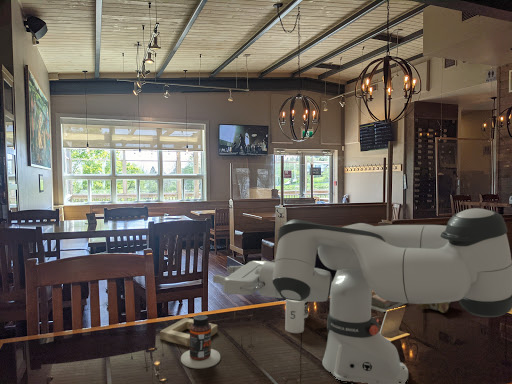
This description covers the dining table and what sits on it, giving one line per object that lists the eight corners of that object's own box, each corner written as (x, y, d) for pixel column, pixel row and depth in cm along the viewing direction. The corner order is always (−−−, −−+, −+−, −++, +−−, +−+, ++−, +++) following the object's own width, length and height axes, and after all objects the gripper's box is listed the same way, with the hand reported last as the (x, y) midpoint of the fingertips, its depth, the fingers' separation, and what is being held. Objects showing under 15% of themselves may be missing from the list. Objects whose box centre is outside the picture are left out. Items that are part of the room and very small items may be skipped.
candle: (283, 331, 130) (284, 287, 129) (287, 324, 136) (288, 282, 135) (301, 334, 128) (303, 289, 127) (305, 327, 134) (306, 284, 133)
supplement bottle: (206, 362, 107) (207, 322, 106) (186, 360, 108) (186, 320, 107) (213, 352, 113) (213, 314, 112) (194, 350, 114) (194, 312, 113)
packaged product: (385, 286, 168) (407, 292, 160) (385, 298, 168) (407, 304, 161) (362, 295, 156) (385, 301, 148) (361, 307, 156) (384, 314, 149)
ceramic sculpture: (457, 286, 155) (445, 297, 144) (457, 307, 156) (445, 319, 145) (429, 281, 162) (416, 291, 151) (429, 301, 163) (416, 312, 152)
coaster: (227, 355, 113) (227, 352, 113) (206, 372, 103) (206, 370, 103) (196, 346, 118) (196, 344, 118) (172, 362, 108) (172, 360, 108)
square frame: (217, 332, 128) (217, 324, 128) (194, 348, 117) (194, 339, 117) (185, 324, 134) (185, 317, 134) (160, 339, 123) (160, 331, 122)
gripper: (256, 304, 93) (204, 296, 98) (279, 280, 112) (235, 275, 117) (257, 278, 93) (204, 271, 97) (280, 259, 112) (235, 254, 116)
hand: (221, 273), depth 107 cm, fingers open, 8 cm apart
